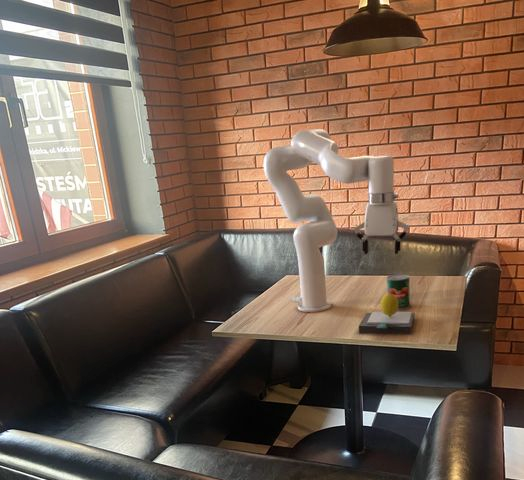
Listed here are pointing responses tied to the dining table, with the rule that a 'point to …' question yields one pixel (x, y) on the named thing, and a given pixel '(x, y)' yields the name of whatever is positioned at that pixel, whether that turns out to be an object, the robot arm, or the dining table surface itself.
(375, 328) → the scale
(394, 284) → the canned tomato
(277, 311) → the dining table surface
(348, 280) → the dining table surface
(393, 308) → the lemon
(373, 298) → the dining table surface
